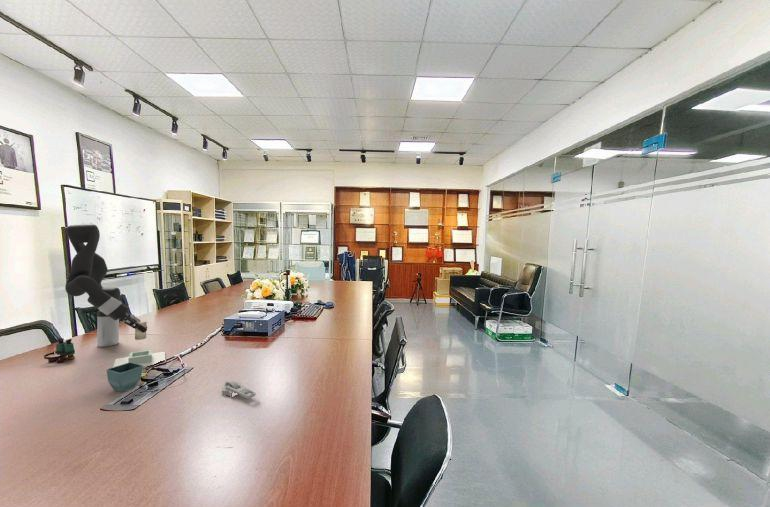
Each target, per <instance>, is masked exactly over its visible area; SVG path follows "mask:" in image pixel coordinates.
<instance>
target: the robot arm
mask: <svg viewBox="0 0 770 507" xmlns="http://www.w3.org/2000/svg"><path fill="white" fill-rule="evenodd" d="M66 234H67V237H68V239H69V241H70V243H71V245H72V247H73V249H74V251H75V252H76V254H75V255H74V257H73V258H72V260H71V268H70V274H69V275H68V277H67V280H66V282H65V287H64V288H65V292H66V293H67V294H68V295H69V296H70V297H71V296H72V297H79V296H80V297H81V296H83V295H84V294H87V295H88V297H87V302H88V303H89V304H90V305H92V306H93V307H95V308H96V309H98V311H97V314H96V315H97V318H96V320H97V324H96V326H97V327H96V328H97V334H96V337H97V339H96V340H97V341H96V342H97V343H96V345H97V347H100V348H105V347H111V346H116V345H118V344H119V343H120V342H119V341H120V319H121V320H122V322H123V323H124V324H126V325H127V326H129V327H130V328H132V329H134V330H135V329H138V330H140V331H141V332H143V333H144V332H145V331H146V332H147V330H148V327H147V328H145V327H144V326H142V325H141V324H140V323H138V322H142V321H141V319H139V318H138V317H137V316H135V315H134V314H133V313H132V312H131V313H128V312H129V310H130V307H129V306H127V305H126V304H124V303H123V302H121V289H120V288H118V287H103V286H102V281H103V280H104V279H105V277H106V275H107V273H108V272H109V271H108V267H107V264H106V260H105V259H104V258H103V257H102V255H99V254H98V253H96V251H97V248H98V245H99V241H100V234H101V233H100V229H99V227H98V226H97V225H96V224H93V223H90V224H89V223H88V224H86V223H85V224H84V223H82V224H70V225H68V226H67V228H66ZM85 244H86V245H85ZM135 324H136V325H135Z"/></svg>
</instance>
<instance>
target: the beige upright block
mask: <svg viewBox="0 0 770 507" xmlns="http://www.w3.org/2000/svg"><path fill="white" fill-rule="evenodd" d="M138 323H140V324H141V325H142V326H144V327H145V328H147V329H148V325H147V323H148V322H147V321H141V322H138ZM135 325H136V324H135ZM135 325H134V326H135ZM146 339H147V331H145V332H144V333H143V332H141V331H140V330H138V329H134V340H136V341H140V340H146Z"/></svg>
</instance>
